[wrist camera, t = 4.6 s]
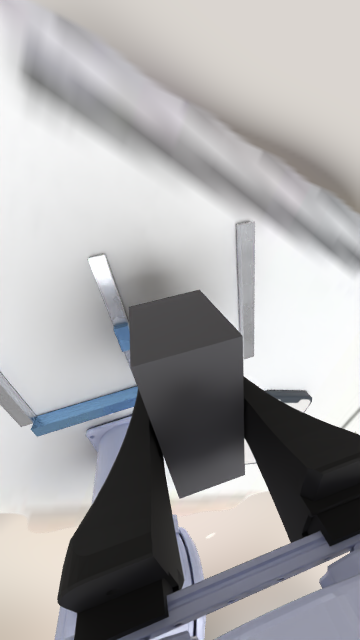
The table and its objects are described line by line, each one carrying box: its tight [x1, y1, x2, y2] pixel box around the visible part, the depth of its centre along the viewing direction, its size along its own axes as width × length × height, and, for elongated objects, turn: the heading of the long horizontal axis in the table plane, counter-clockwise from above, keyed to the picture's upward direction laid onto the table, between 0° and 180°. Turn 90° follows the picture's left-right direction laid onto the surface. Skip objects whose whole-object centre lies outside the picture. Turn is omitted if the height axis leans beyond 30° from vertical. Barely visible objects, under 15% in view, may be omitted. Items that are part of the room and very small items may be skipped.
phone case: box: [244, 390, 312, 464], centre depth 32 cm, size 9×2×16 cm
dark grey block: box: [129, 290, 245, 498], centre depth 12 cm, size 10×4×5 cm, turn 10°
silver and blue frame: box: [0, 221, 255, 436], centre depth 19 cm, size 15×25×2 cm, turn 100°
